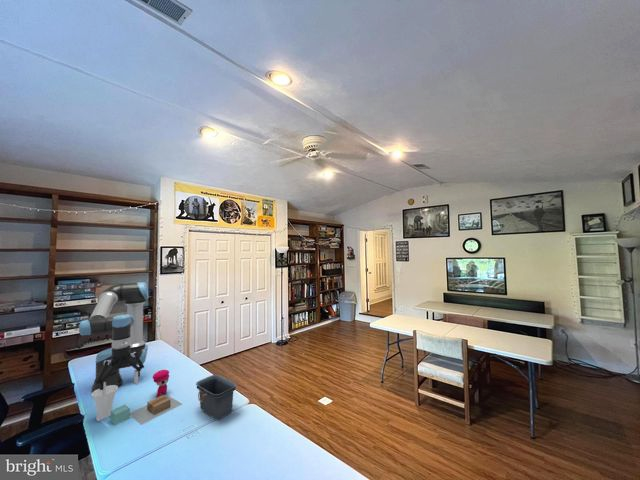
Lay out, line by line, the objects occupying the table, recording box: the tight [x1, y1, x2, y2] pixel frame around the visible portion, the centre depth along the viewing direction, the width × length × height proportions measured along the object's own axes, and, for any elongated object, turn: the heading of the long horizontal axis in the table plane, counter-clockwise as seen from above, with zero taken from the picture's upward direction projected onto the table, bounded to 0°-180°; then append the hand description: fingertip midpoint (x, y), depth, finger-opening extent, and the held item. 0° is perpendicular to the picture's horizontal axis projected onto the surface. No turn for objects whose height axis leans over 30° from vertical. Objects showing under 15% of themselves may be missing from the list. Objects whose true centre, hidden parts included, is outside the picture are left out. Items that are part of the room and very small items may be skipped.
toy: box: [152, 369, 170, 398], centre depth 151 cm, size 8×8×15 cm
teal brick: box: [109, 404, 131, 426], centre depth 129 cm, size 6×6×6 cm
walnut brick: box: [146, 394, 171, 415], centre depth 138 cm, size 8×8×4 cm
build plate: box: [130, 395, 183, 426], centre depth 137 cm, size 16×20×1 cm
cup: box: [91, 385, 118, 422], centre depth 133 cm, size 10×10×14 cm
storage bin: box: [195, 374, 238, 421], centre depth 135 cm, size 21×16×14 cm
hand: (120, 389), depth 130 cm, fingers open, 13 cm apart
